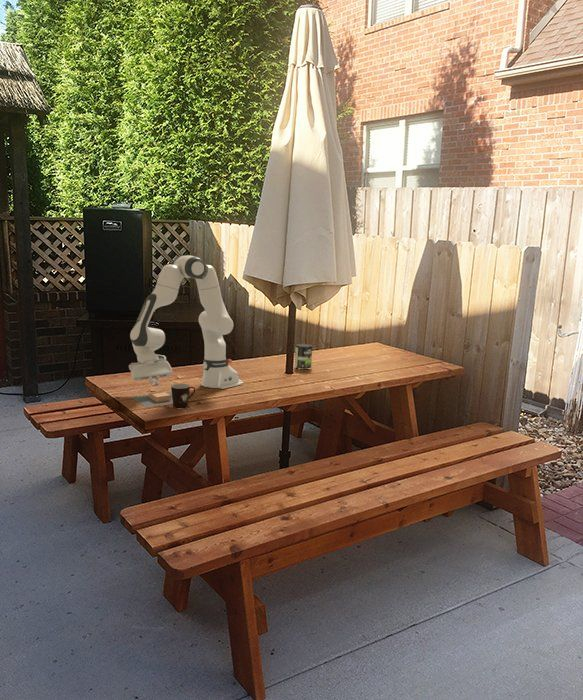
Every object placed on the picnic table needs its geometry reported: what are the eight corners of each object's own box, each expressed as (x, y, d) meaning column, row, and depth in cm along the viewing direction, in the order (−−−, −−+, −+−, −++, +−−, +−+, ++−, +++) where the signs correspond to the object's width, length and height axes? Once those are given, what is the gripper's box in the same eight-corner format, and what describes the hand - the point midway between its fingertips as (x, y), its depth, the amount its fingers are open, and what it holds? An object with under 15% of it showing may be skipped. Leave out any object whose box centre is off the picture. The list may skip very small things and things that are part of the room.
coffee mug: (171, 409, 292) (172, 388, 290) (170, 404, 300) (170, 383, 298) (197, 408, 295) (197, 387, 293) (194, 403, 303) (194, 383, 301)
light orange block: (162, 390, 312) (170, 395, 305) (162, 395, 312) (170, 400, 305) (148, 392, 307) (156, 397, 300) (148, 397, 308) (156, 402, 301)
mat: (171, 391, 321) (171, 391, 321) (188, 400, 307) (188, 400, 307) (129, 397, 308) (129, 397, 308) (145, 407, 294) (145, 406, 294)
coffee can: (314, 368, 383) (316, 345, 380) (302, 370, 376) (303, 347, 374) (303, 365, 391) (304, 342, 388) (290, 367, 384) (291, 344, 381)
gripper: (129, 360, 305) (137, 384, 300) (168, 355, 318) (177, 379, 312) (125, 367, 310) (134, 391, 304) (164, 362, 322) (173, 386, 316)
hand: (156, 385), depth 308 cm, fingers closed
